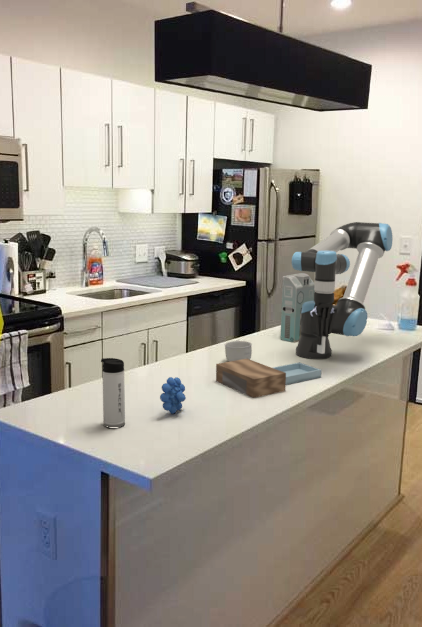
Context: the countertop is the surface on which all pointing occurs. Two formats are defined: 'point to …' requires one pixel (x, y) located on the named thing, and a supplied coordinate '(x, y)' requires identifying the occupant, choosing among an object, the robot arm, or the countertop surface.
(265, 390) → the shelf
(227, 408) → the countertop surface
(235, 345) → the teacup
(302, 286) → the device
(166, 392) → the grapes
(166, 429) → the countertop surface
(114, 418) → the travel mug
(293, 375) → the tray
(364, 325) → the robot arm
